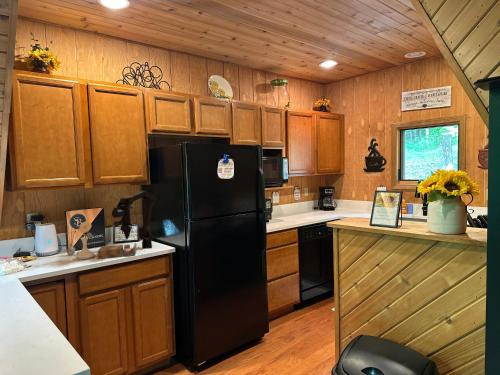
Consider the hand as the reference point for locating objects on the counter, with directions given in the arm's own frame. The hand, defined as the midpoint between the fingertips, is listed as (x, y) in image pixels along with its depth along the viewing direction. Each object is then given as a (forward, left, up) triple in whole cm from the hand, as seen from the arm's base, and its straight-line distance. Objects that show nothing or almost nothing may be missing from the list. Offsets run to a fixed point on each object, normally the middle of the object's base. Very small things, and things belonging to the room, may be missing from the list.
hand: (127, 238), depth 236 cm
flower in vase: (+26, +3, -11) cm, 28 cm away
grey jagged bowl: (+2, 0, -11) cm, 11 cm away
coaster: (0, 0, -10) cm, 10 cm away
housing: (+11, 0, -11) cm, 16 cm away
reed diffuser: (+38, -12, -11) cm, 41 cm away
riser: (+2, -13, -11) cm, 17 cm away
